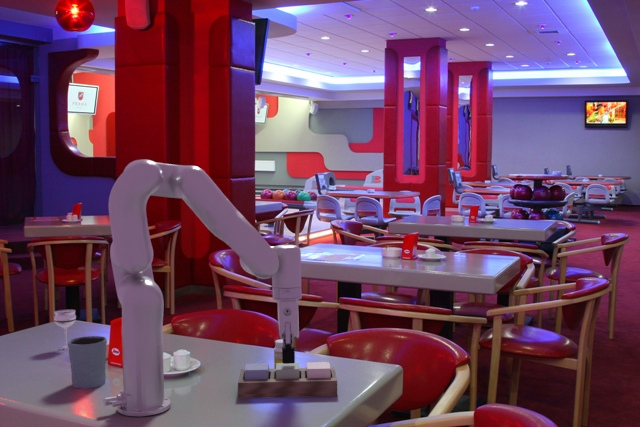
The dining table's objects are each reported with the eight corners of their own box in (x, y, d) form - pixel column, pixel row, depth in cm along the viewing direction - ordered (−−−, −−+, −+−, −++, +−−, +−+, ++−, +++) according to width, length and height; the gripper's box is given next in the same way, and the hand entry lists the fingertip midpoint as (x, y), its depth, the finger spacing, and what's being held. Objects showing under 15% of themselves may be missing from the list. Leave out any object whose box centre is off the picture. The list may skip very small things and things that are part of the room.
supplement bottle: (282, 366, 209) (281, 338, 209) (294, 369, 206) (294, 340, 206) (270, 370, 206) (270, 341, 205) (283, 373, 203) (282, 343, 202)
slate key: (244, 383, 184) (244, 370, 184) (246, 376, 190) (245, 363, 190) (268, 383, 184) (268, 369, 184) (268, 376, 190) (268, 363, 190)
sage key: (276, 383, 184) (275, 369, 184) (276, 376, 190) (276, 363, 190) (299, 382, 184) (299, 369, 184) (299, 375, 190) (299, 362, 190)
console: (238, 398, 181) (237, 382, 181) (241, 383, 193) (241, 369, 193) (337, 396, 182) (337, 380, 182) (334, 381, 194) (334, 367, 194)
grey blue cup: (81, 391, 187) (79, 346, 187) (61, 384, 194) (60, 340, 193) (115, 383, 195) (114, 339, 194) (95, 375, 202) (94, 333, 201)
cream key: (307, 382, 184) (307, 368, 184) (306, 375, 190) (306, 362, 190) (330, 381, 185) (330, 368, 184) (329, 375, 191) (329, 362, 190)
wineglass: (71, 344, 238) (70, 308, 237) (80, 348, 233) (79, 311, 232) (51, 348, 233) (50, 311, 232) (60, 351, 228) (58, 314, 227)
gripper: (302, 297, 178) (303, 370, 180) (301, 287, 193) (302, 354, 195) (271, 298, 178) (273, 371, 179) (273, 288, 193) (274, 355, 194)
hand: (288, 362), depth 187 cm, fingers closed
